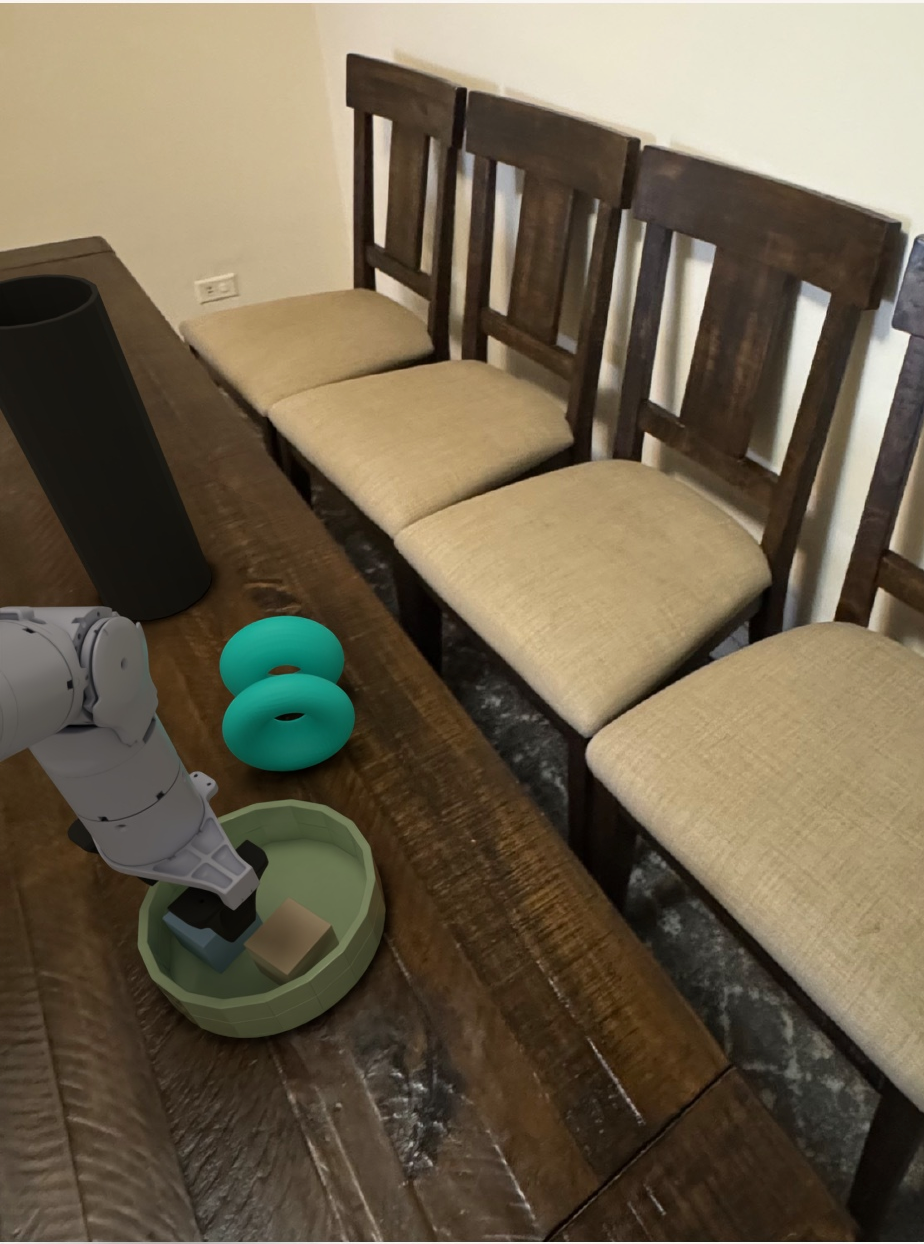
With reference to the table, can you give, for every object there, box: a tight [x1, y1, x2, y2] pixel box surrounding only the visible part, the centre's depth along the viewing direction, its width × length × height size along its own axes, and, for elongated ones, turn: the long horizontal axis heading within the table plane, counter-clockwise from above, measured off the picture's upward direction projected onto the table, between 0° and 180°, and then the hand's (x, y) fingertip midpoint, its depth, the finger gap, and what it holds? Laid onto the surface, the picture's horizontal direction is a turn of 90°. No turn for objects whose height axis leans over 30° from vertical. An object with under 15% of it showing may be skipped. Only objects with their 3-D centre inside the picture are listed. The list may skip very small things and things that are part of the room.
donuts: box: [219, 615, 356, 772], centre depth 71 cm, size 10×10×10 cm
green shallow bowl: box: [137, 798, 387, 1039], centre depth 60 cm, size 15×15×5 cm
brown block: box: [244, 897, 339, 986], centre depth 58 cm, size 4×4×4 cm
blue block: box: [163, 911, 263, 974], centre depth 59 cm, size 4×4×4 cm
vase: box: [0, 273, 213, 621], centre depth 77 cm, size 10×10×30 cm
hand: (200, 899), depth 57 cm, fingers open, 7 cm apart
